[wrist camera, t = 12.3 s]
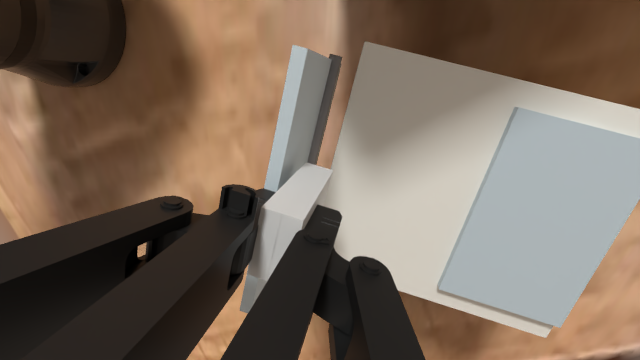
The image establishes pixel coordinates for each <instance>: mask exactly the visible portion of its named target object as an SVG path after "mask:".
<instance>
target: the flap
mask: <svg viewBox="0 0 640 360" xmlns="http://www.w3.org/2000/svg"><path fill="white" fill-rule="evenodd" d="M341 60H342V57H340V56H337V55H333V54H330V56H329V58H327V57H325V56H323V55H321V54H318V53H316V52H314V51H312V50H310V49H307V48H303V47H299V46H295V45H293V46H292V51H291V56H290V61H289V66H288V71H287V76H286V81H285V86H284V91H283V96H282V101H281V106H280V111H279V116H278V121H277V126H276V131H275V136H274V141H273V146H272V151H271V156H270V161H269V166H268V171H267V176H266V181H265V186H264V189H267V190H270V191H274V192H277V191H278V190H279V189H280V188H281V187H282V186H283V185H284V184H285V183H286V182H287V181H288V180H289V179H290V178H291V177H292V176H293V175H294V174H295V173H296V172H297V171H298V170H299V169H300V168H301V167H302V166H303V165H304V164H305V163H306V162H307V163H310V164H314V165H316V164H317V160H318V156H319V152H320V148H321V144H322V140H323V136H324V132H325V128H326V124H327V120H328V116H329V112H330V108H331V104H332V100H333V96H334V92H335V88H336V84H337V80H338V76H339V72H340V68H341ZM249 264H250V263H249ZM248 269H249V266H248ZM247 273H248V271H247ZM266 283H267V281H266V280H263V279H260V278H257V277H254V276H251V275H248V274H247V276H246V281H245V286H244V291H243V296H242V301H241V306H240V311H242V312H246V313H249V311H250V309H251V308H252V306H253V304H254V303H255V301H256V299H257V298H258V296H259V294H260V293H261V291H262V289H263V288H264V286H265V284H266Z"/></svg>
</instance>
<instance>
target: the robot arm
mask: <svg viewBox="0 0 640 360" xmlns="http://www.w3.org/2000/svg"><path fill="white" fill-rule="evenodd" d="M125 35H126V26H125V16H124V11H123V7H122V3H121V0H0V69H4V70H7V71H11V72H14V73H17V74H20V75H23V76H26V77H29V78H32V79H36V80H39V81H42V82H45V83H48V84H51V85H56V86H62V87H83V86H90V85H94V84H96V83H99V82H101V81H102V80H104V79H105V78H106V77H108V76H109V75H110V74H111V73H112V71H113V70H114V69H115V67H116V66H117V64H118V62H119V60H120V58H121V55H122V52H123V49H124V44H125ZM332 173H333V170H330V169H327V168H324V167H320V166H317V165H314V164H310V163H307V162H306V163H305V164H304V165H303V166H302V167H301V168H300V169H299V170H298V171H297V172H296V173H295V174H294V175H293V176H292V177H291V178H290V179H289V180H288V181H287V182H286V183H285V184H284V185H283V186H282V187H281V188H280V189H279V190H278V191H277V192H274V191H270V190H267V189H264V188H263V189H259V190H254V189H252V188H250V187H247V186H243V185H234V184H233V185H226V186H223V187H222V191H221V197H220V204H219V209H217V210H216V211H215V212H213V213H212V214H211V215H202V214H196V213H192V212H193V204H192V203H191V202H190V201H188V200H187V199H184V198H182V197H178V196H177V197H176V196H164V197H158V198H155V199H152V200H148V201H145V202H141V203H138V204H135V205H131V206H128V207H125V208H121V209H118V210H115V211H111V212H108V213H105V214H101V215H98V216H95V217H91V218H88V219H85V220H81V221H78V222H75V223H71V224H68V225H64V226H61V227H58V228H54V229H51V230H48V231H44V232H41V233H38V234H34V235H31V236H28V237H24V238H21V239H18V240H14V241H11V242H8V243H5V244H1V245H0V360H186V359H187V358H188V356H189V355H190V353H191V352H192V351H193V349H194V348H195V346H196V345H197V344H198V342H199V341H200V339H201V338H202V337H203V335H204V334H205V332H206V331H207V330H208V328H209V327H210V325H211V324H212V323H213V321H214V320H215V318H216V317H217V316H218V314H219V313H220V311H221V310H222V309H223V307H224V306H225V304H226V303H227V302H228V300H229V299H230V297H231V296H232V295H233V293H234V292H235V290H236V289H237V288H238V286H239V285H240V283H241V282H242V279H243V275H244V270H245V268H246V267H247V265H248V264H249V263H250V264H249V269H248V273H247V274H248V275H251V276H254V277H257V278H260V279H263V280H266V281H267V283H266V284H265V286H264V288H263V289H262V291H261V293H260V294H259V296H258V298H257V299H256V301H255V303H254V304H253V306H252V308H251V309H250V311H249V313H248V314H247V316H246V318H245V319H244V321H243V323H242V324H241V326H240V328H239V329H238V331H237V333H236V334H235V336H234V338H233V339H232V341H231V343H230V345H229V346H228V348H227V350H226V351H225V353H224V355H223V356H222V358H221V360H298V358H299V355H300V352H301V348H302V345H303V342H304V339H305V336H306V333H307V330H308V326H309V324H310V321H311V318H312V314H313V313H315V314H316V315H318V316H320V317H321V318H323V319H324V320H326V321H327V322H329V323H330V324H329V330H328V331H329V343H330V355H331V360H425V357H424V355H423V352H422V350H421V347H420V345H419V342H418V340H417V337H416V335H415V332H414V330H413V327H412V325H411V322H410V320H409V317H408V315H407V312H406V310H405V307H404V305H403V302H402V300H401V298H400V295H399V293H398V290H397V288H396V285H395V283H394V280H393V278H392V275H391V273H390V271H389V270H388V268H387V267H386V266H385V265H384V264H382V263H381V262H380V261H378V260H376V259H374V258H370V257H366V256H357V257H353V258H352V259H351V260H350V262H349V261H347V260H346V259H344V258H343V257H341V256H340V255H339V254H338V253H337V252H336V251H335V249H334V243H335V240H336V237H337V233H338V230H339V227H340V223H341V220H342V215H341V213H340V212H339V211H337V210H334V209H331V208H328V207H325V206H324V202H325V198H326V195H327V191H328V188H329V184H330V180H331V177H332ZM146 242H147V245H146V255H143V256H141V257H137V249H138V246H139V245H141V244H143V243H146Z"/></svg>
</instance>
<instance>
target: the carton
mask: <svg viewBox="0 0 640 360" xmlns="http://www.w3.org/2000/svg"><path fill="white" fill-rule="evenodd" d="M330 170H333V173H332V177H331V180H330V184H329V188H328V191H327V195H326V198H325V202H324V206H325V207H328V208H331V209H334V210H337V211H339V212H340V213H341V215H342V220H341V223H340V227H339V230H338V233H337V237H336V240H335V243H334V249H335V251H336V252H337V253H338V254H339V255H340V256H341V257H343V258H344V259H346V260H347V261H349V262H350V260H351V259H352V258H353V257H357V256H366V257H370V258H374V259H376V260H378V261H380V262H381V263H382V264H384V265H385V266H386V267H387V268H388V270H389V271H390V273H391V275H392V278H393V280H394V283H395V285H396V288H397V290H398V291H402V292H405V293H408V294H411V295H414V296H417V297H420V298H423V299H426V300H430V301H433V302H436V303H439V304H442V305H445V306H448V307H451V308H454V309H457V310H461V311H464V312H467V313H470V314H473V315H476V316H479V317H482V318H485V319H489V320H492V321H495V322H498V323H501V324H504V325H507V326H510V327H513V328H517V329H520V330H523V331H526V332H529V333H532V334H535V335H538V336H541V337H544V338H546V337H547V335H548V334H549V332H550V331H551V329H552V327H553V326H556V327H559V328H560V327H561V326H562V324H563V322H564V321H565V319H566V318H567V316H568V314H569V313H570V311H571V309H572V308H573V306H574V305H575V303H576V301H577V300H578V298H579V297H580V295H581V293H582V292H583V290H584V288H585V287H586V285H587V284H588V282H589V280H590V279H591V277H592V275H593V274H594V272H595V271H596V269H597V267H598V266H599V264H600V262H601V261H602V259H603V258H604V256H605V254H606V253H607V251H608V249H609V248H610V246H611V245H612V243H613V241H614V240H615V238H616V236H617V235H618V233H619V232H620V230H621V228H622V227H623V225H624V223H625V222H626V220H627V219H628V217H629V215H630V214H631V212H632V211H633V209H634V207H635V206H636V204H637V202H638V201H639V199H640V109H637V108H633V107H629V106H625V105H621V104H617V103H613V102H609V101H605V100H600V99H596V98H592V97H588V96H584V95H580V94H576V93H572V92H568V91H564V90H560V89H556V88H552V87H548V86H544V85H540V84H536V83H532V82H528V81H524V80H520V79H516V78H512V77H508V76H504V75H500V74H496V73H492V72H487V71H483V70H479V69H475V68H471V67H467V66H463V65H459V64H455V63H451V62H447V61H443V60H439V59H435V58H431V57H427V56H423V55H419V54H415V53H411V52H407V51H403V50H399V49H395V48H391V47H387V46H383V45H379V44H374V43H370V42H366V41H365V42H364V46H363V49H362V53H361V57H360V61H359V64H358V68H357V72H356V76H355V79H354V83H353V87H352V91H351V94H350V98H349V102H348V106H347V109H346V113H345V117H344V121H343V124H342V128H341V132H340V136H339V139H338V143H337V147H336V151H335V154H334V158H333V162H332V165H331V169H330Z"/></svg>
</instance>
